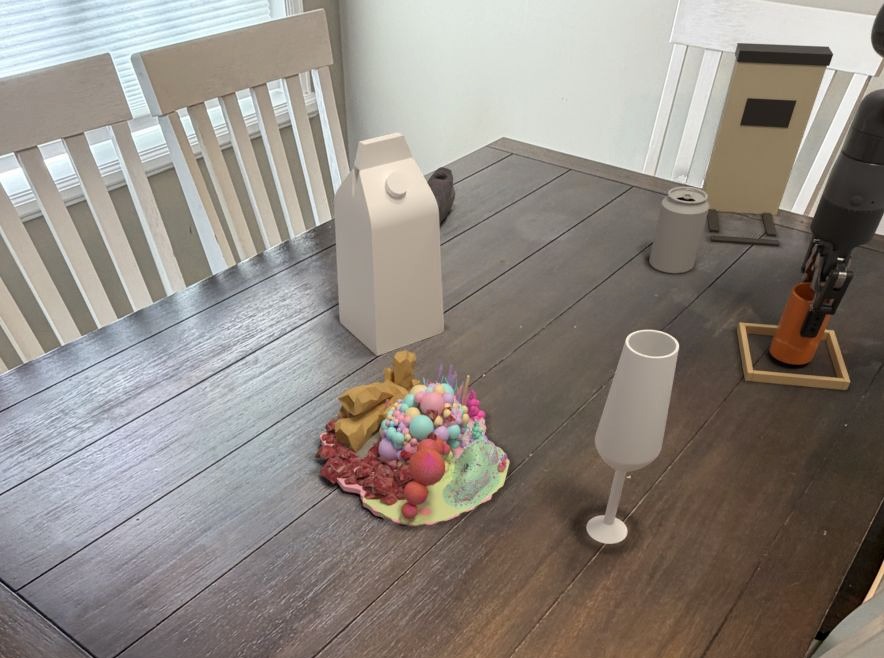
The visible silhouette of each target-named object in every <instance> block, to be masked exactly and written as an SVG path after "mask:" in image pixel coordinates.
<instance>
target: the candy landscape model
mask: <svg viewBox="0 0 884 658" xmlns="http://www.w3.org/2000/svg"><path fill="white" fill-rule="evenodd" d="M417 359H418V358H417V355H416V352H410V351H409V350H407V349H404V350H400V351H397V352H395V354H394V355H393V358H392V364H391V365H392V368H388V367H383V368H384V369H383V379H384V381H383V382H379V381H374V382H372V383H369V384H367V385H364V384H360V385H357V386H354V387H351V388H348V389H347V390H345V391H344V392H343V393H342V394H341V395H340V396H338V397H337V400H338V401H339V402H340V404H342V405H341V407H340V409H339V411H338V414H337V417H336V418H337V419H338V420H337V419H335V418H332V419H331V420H330V421H329V422H327V423H326V424H325V426H324V429H325V430H326V431H324V432H322V433H321V434H320V435H319V444H321V446H319V448H318V449H317V451H316V453H315V455H314V458H316V459H324V460H327V461H326V463H324V465H323V466H322V467H321V469H320V470H319V471H318V473H319V474H320V475H322V476H323V477H324V478H325V479H327V480H328V481H329V482H330V483H331V484H333V485H335V484H336V483H337V484H338V485H339V488H340V489H342V490H343V491H344V492H347V493H353V494H358V495H360V500H361V501H362V507H363V508H366V509H368V510H369V511H370V512H371V513H372V514H373V515H374V516H375V517H381V518H382V519H388V520H390V521H391V522H392V523H394V524H397V525H404V526H409V527H419V526H423V525H424V526H433V525H436V524H438V523H441V522H448V521H450V520H453V519H455V518H457V517H459V516H460V515H461V514H463V513H468V512H471V511H473V510H475V509H476V507H477V506H480V505H481V504H484V503H486V502H489V501H490V500H491V499H492V497H493V495H494V494H495V493H497V492H498V490H500V489H501V488H503V487H504V485H505V481H506V478H507V474H508V470H509V466H510V463H511V461H510V459H508V454H507V452H504V450H503V449H502V447H500V446H497V445H496V444H495V443H494V442H493V441H491V440H489V439H488V436H487V435H486V432H487V425H486V419H485V418H486V415H487V414H486V412H485V411H484V410H482V409H481V410H480V408H479V406H480V405H481V402H480V400H479V399H476V398H477V397H476V392H475V390H473V388H472V387H470V392H468V390H469V384H470V378H471V376H470V375H468V374H467V375H466V379H465V380H464V379H463V380H462V381H461V384H460V386H459V387H458V379H457V377H458V375H457V370H455V371H454V373H453V369H454V365H453V363H450V364H449V368H448V373H447V377H445V375H444V374H443V375H442V372H443V369H444V368H443V362H441V363H440V365H439V367H438V371H437V375H436V379H435V380H434V381H435V383H434V382H433V381H432V380H431V379H426V378H425V377H423V378H422V381H423V384H421V380H418V379H414V378H415V376H416V374H415V372H416V371H415V370H416V368H415V366H416V363H417V361H418V360H417ZM440 379H441V380H440ZM444 380H445V382H444ZM443 382H444V383H443Z"/></svg>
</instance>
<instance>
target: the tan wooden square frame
mask: <svg viewBox="0 0 884 658" xmlns="http://www.w3.org/2000/svg"><path fill="white" fill-rule="evenodd" d="M777 327H778V325H776V324H762V323H750V322H740V321H739V322H738V324H737V328H736V334H737V341H738V347H739V353H740V359H741V365H742V371H743V377H744V381H745V382H746V381H747V382H755V383H767V384H777V385H785V386H786V385H787V386H797V387H809V388H820V389H831V390H842V391H847V390H848V388H849V386H850V384H851V379H850V376H849V373H848V370H847V367H846V364H845V361H844V358H843V355H842V351H841V348H840V344H839V341H838V339H837V335H836V333H835V330H834V329H826V330H825V332H824V334H823V337H822V339H821V341H825V343H826V346H827V349H828V353H829V356H830V359H831V362H832V365H833V369H834V372H835V375H836V377H833V376H832V377H831V376H820V375H812V374H811V375H810V374H801V373H799V374H798V373H788V372H779V371H778V372H777V371H766V370H755V369H754V367H753V362H752V357H751V352H750V345H749V339H748V335H758V336H769V337H774V335H775V332H776V329H777Z"/></svg>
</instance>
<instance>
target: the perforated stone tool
mask: <svg viewBox="0 0 884 658" xmlns="http://www.w3.org/2000/svg"><path fill="white" fill-rule="evenodd" d="M426 182H427V183H428V185H429V187H430V189H431V190H432V192H433V194H434V196H435V199H436V201H437V205H438V209H439V225H441V223H442V222H443V221H444V220H445V218H446V217H447V216H448V214H449V212H450V211H451V209H452V207H453V204H454V201H455V198H456V190H455V187H454V175H453V171H452V170H451V169H450V168H448V167H443V166H441V167H438V168H437V169H436V170H435V171H434V172H433V173H432V174H431V176H430V177H429V179H428V180H427V181H426Z"/></svg>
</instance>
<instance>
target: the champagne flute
mask: <svg viewBox="0 0 884 658" xmlns="http://www.w3.org/2000/svg"><path fill="white" fill-rule="evenodd" d="M679 351H680V343H679V342H678V340H677V339H676V338H675V337H674V336H672V335H671V334H669V333H667V332H664V331H661V330H656V329H640V330H636V331H633V332H631V333H629V334H628V335H627V337H626V338H625V341H624V344H623V347H622V350H621V353H620V357H619V359H618V362H617V367H616V370H615V372H614V375H613V378H612V382H611V384H610V388H609V390H608V391H609V392H608V395H607V397H606V401H605V404H604V408H603V410H602V413H601V416H600V419H599V423H598V427H597V428H596V432H595V435H594V445H595V448H596V451H597V454H598V455H599V456H600V458H601V459H602V461H603V462H604V463H605V464H606V465H607V466H609V467H610V468H612V469H613V470H615V471H614V475H613V479H612V483H611V488H610V492H609V496H608V500H607V505H606V509H605V512H604V514H603V515H602V514H601V515H596V516H594V517H592V518H590V519H589V520H588V521H587V523H586V532H587V534H588V535H589V537H590V538H592V539H593V540H594V541H596V542H599V543H602V544H607V545H612V544H619V543H620V542H623V540H625V539H626V537H627V536H628V528H627V525H626V524H625V523H624V521H622V520H621V519H619V518H617V517H616V516H617V512H618V508H619V504H620V501H621V496H622V492H623V489H624V485H625V480H626V476H627V473H632V472H634V471H638V470H641V469H643V468H645V467H647V466H648V465H650V464H651V463H653V462H654V461H655V460H656V459H657V458H658V457H659V455H660V453H661V451H662V448H663V444H664V439H665V438H664V437H665V431H666V427H667V420H668V415H669V408H670V403H671V397H672V396H671V395H672V391H673V386H674V379H675V373H676V367H677V362H678V356H679Z"/></svg>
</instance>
